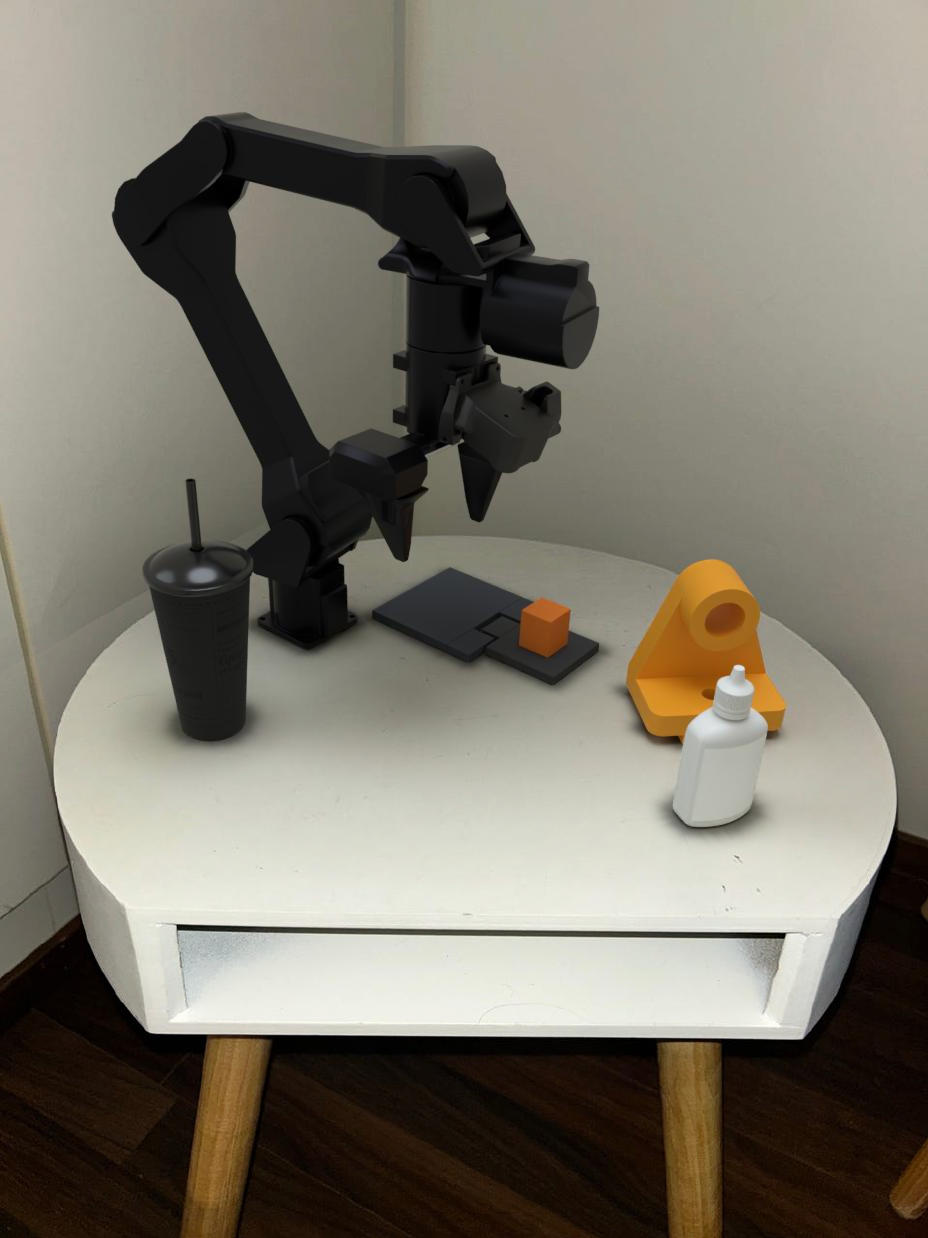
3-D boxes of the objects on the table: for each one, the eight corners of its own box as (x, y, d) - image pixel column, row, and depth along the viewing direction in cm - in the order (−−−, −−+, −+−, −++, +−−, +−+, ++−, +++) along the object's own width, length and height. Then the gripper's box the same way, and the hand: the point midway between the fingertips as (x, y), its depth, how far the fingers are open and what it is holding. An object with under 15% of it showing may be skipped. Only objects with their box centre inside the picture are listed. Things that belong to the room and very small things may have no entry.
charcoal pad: (371, 617, 99) (371, 610, 98) (449, 574, 106) (449, 566, 106) (468, 662, 93) (469, 654, 92) (543, 613, 100) (544, 605, 100)
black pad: (466, 646, 95) (468, 602, 93) (514, 615, 100) (517, 573, 98) (553, 685, 90) (557, 640, 88) (598, 650, 95) (604, 607, 93)
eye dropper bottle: (755, 835, 76) (788, 690, 70) (672, 827, 76) (698, 682, 70) (747, 794, 79) (778, 653, 73) (669, 786, 80) (693, 646, 74)
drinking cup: (215, 682, 89) (194, 449, 79) (285, 717, 85) (271, 477, 75) (140, 726, 84) (106, 482, 73) (211, 765, 80) (186, 515, 70)
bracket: (649, 745, 84) (670, 609, 78) (624, 691, 90) (642, 561, 84) (783, 738, 85) (814, 604, 79) (750, 685, 91) (777, 557, 85)
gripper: (451, 401, 67) (444, 621, 75) (613, 338, 80) (592, 531, 88) (320, 361, 73) (326, 569, 81) (491, 307, 86) (482, 491, 94)
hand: (440, 539), depth 86 cm, fingers open, 9 cm apart
